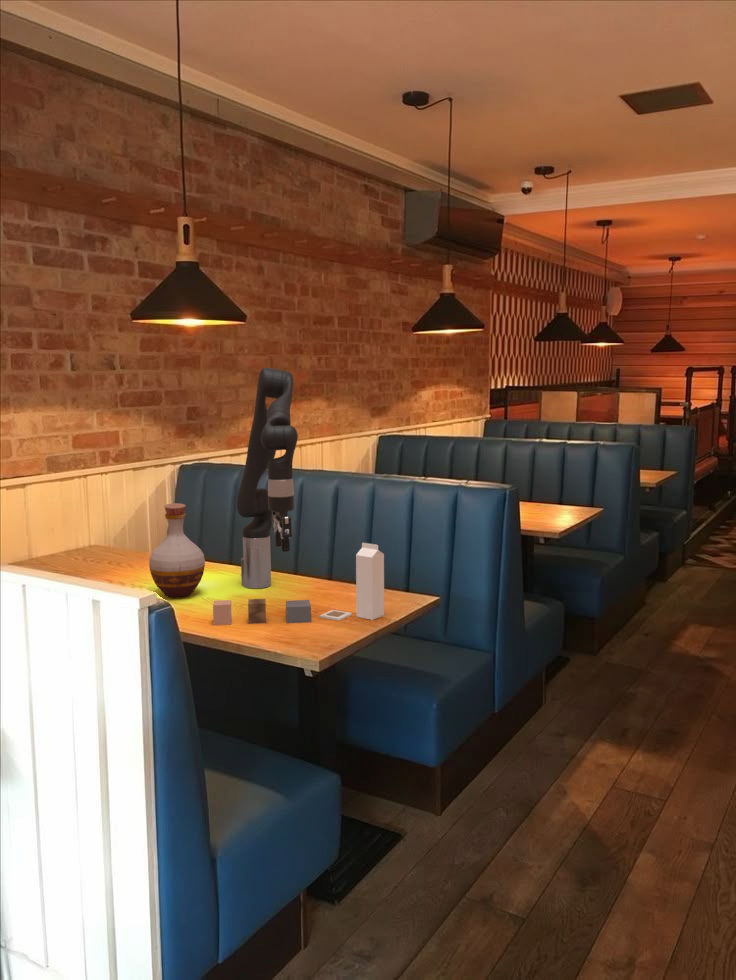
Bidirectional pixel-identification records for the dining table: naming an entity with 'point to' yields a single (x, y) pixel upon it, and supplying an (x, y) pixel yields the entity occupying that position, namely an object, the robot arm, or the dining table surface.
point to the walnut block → (256, 611)
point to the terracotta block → (222, 612)
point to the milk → (369, 582)
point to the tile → (335, 615)
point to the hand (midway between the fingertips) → (282, 548)
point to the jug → (176, 558)
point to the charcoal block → (298, 611)
